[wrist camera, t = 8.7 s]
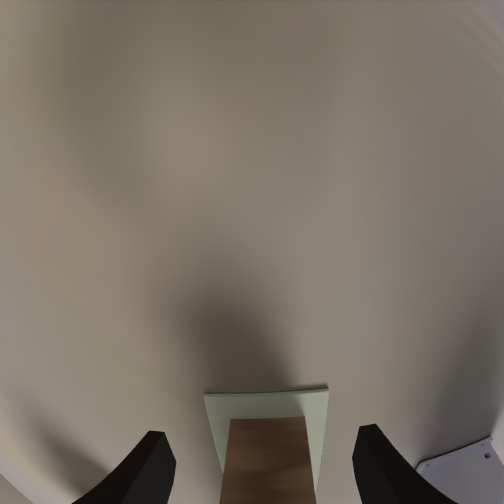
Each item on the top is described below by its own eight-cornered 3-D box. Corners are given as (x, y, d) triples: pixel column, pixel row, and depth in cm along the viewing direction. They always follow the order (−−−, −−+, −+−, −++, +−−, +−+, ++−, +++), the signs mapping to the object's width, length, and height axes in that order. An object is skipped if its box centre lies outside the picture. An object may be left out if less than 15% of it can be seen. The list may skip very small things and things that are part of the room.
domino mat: (328, 388, 18) (328, 391, 18) (307, 531, 25) (307, 533, 25) (204, 393, 19) (203, 396, 18) (241, 533, 26) (241, 535, 25)
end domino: (304, 416, 19) (319, 531, 10) (304, 430, 19) (316, 540, 10) (230, 418, 19) (215, 533, 10) (232, 433, 19) (220, 542, 11)
